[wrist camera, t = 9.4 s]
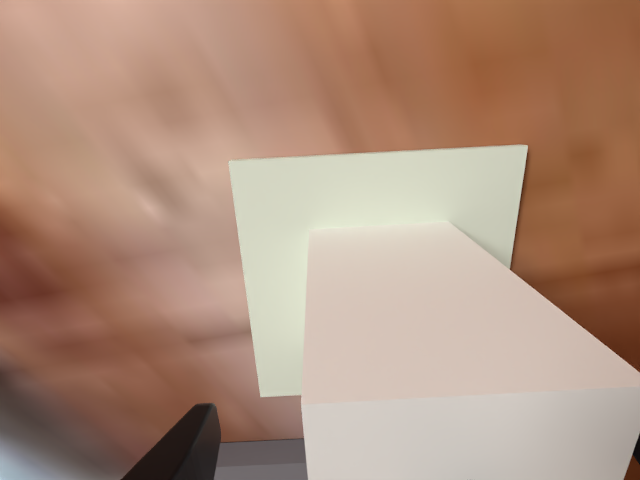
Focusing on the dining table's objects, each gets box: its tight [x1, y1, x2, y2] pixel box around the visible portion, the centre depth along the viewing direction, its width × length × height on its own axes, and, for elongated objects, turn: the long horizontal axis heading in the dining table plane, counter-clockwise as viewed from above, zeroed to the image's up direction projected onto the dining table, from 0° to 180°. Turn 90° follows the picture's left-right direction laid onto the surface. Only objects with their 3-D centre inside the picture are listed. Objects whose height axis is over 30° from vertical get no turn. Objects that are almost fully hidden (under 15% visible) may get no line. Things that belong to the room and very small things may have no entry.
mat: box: [228, 145, 528, 397], centre depth 13 cm, size 10×10×1 cm
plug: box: [301, 222, 640, 480], centre depth 9 cm, size 5×5×10 cm
